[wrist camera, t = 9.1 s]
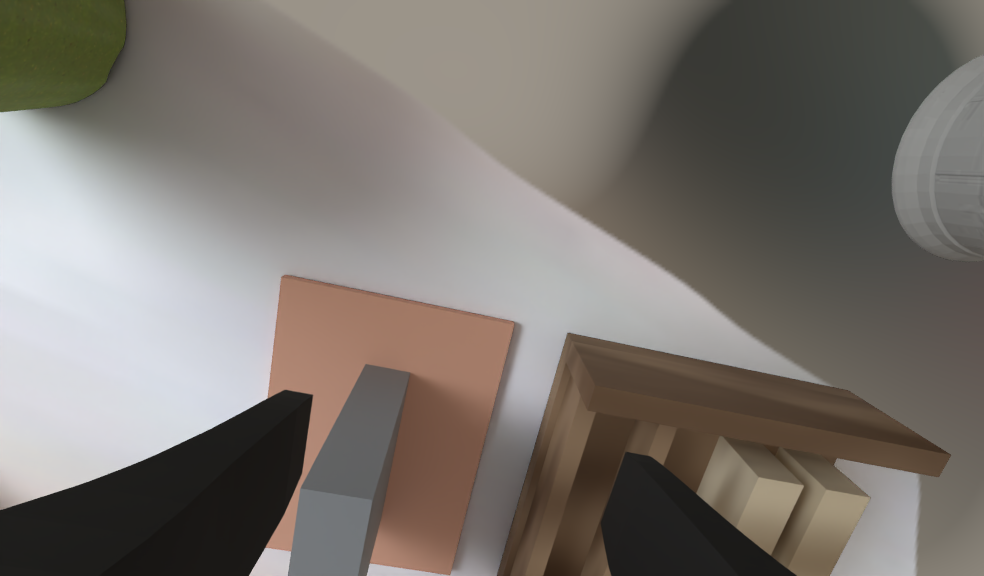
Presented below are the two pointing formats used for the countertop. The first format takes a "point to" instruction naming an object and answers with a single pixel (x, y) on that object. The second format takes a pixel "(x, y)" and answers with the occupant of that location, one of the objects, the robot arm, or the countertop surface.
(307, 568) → the gray block
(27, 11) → the plant pot
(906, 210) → the glass holder
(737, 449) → the birch offcut
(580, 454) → the walnut rack
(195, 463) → the robot arm
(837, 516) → the birch offcut
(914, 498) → the countertop surface
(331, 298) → the terracotta mat
